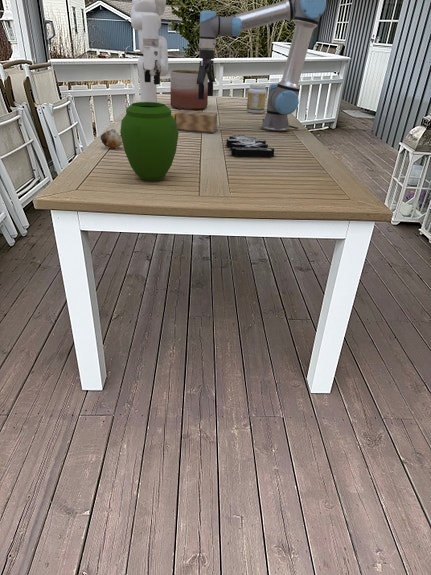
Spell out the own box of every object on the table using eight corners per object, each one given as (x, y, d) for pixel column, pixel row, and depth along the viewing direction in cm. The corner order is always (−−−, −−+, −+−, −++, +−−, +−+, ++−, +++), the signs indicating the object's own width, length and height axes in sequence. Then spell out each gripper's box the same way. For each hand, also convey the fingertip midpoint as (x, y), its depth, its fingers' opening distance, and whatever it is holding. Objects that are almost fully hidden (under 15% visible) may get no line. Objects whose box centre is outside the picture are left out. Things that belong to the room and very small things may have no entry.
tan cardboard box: (176, 130, 217) (175, 112, 212) (181, 126, 226) (181, 109, 222) (212, 133, 215) (213, 115, 210) (216, 129, 224) (217, 112, 219)
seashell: (124, 147, 182) (123, 128, 178) (122, 150, 177) (120, 130, 173) (103, 146, 182) (101, 127, 178) (100, 149, 177) (98, 129, 173)
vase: (131, 189, 135) (125, 110, 122) (118, 172, 150) (112, 100, 137) (186, 184, 142) (187, 109, 129) (169, 168, 157) (167, 99, 144)
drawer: (162, 127, 218) (161, 113, 215) (167, 124, 226) (167, 110, 223) (206, 131, 215) (207, 117, 211) (210, 127, 223) (210, 114, 219)
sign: (232, 149, 174) (222, 134, 199) (232, 157, 176) (222, 140, 201) (276, 150, 177) (260, 135, 202) (275, 157, 179) (260, 141, 204)
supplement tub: (247, 109, 285) (249, 83, 276) (264, 111, 283) (267, 84, 274) (245, 112, 274) (248, 84, 265) (264, 114, 273) (266, 86, 264)
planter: (201, 104, 296) (202, 70, 284) (212, 110, 276) (213, 73, 264) (166, 104, 289) (166, 69, 277) (175, 110, 268) (175, 73, 257)
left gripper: (166, 44, 191) (167, 85, 200) (149, 43, 203) (150, 81, 212) (152, 44, 188) (153, 85, 197) (135, 42, 199) (137, 81, 208)
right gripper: (205, 50, 185) (204, 101, 197) (222, 49, 206) (220, 95, 217) (190, 49, 187) (189, 99, 199) (208, 48, 208) (207, 94, 219)
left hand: (152, 83), depth 204 cm, fingers open, 9 cm apart
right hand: (205, 97), depth 208 cm, fingers open, 13 cm apart
